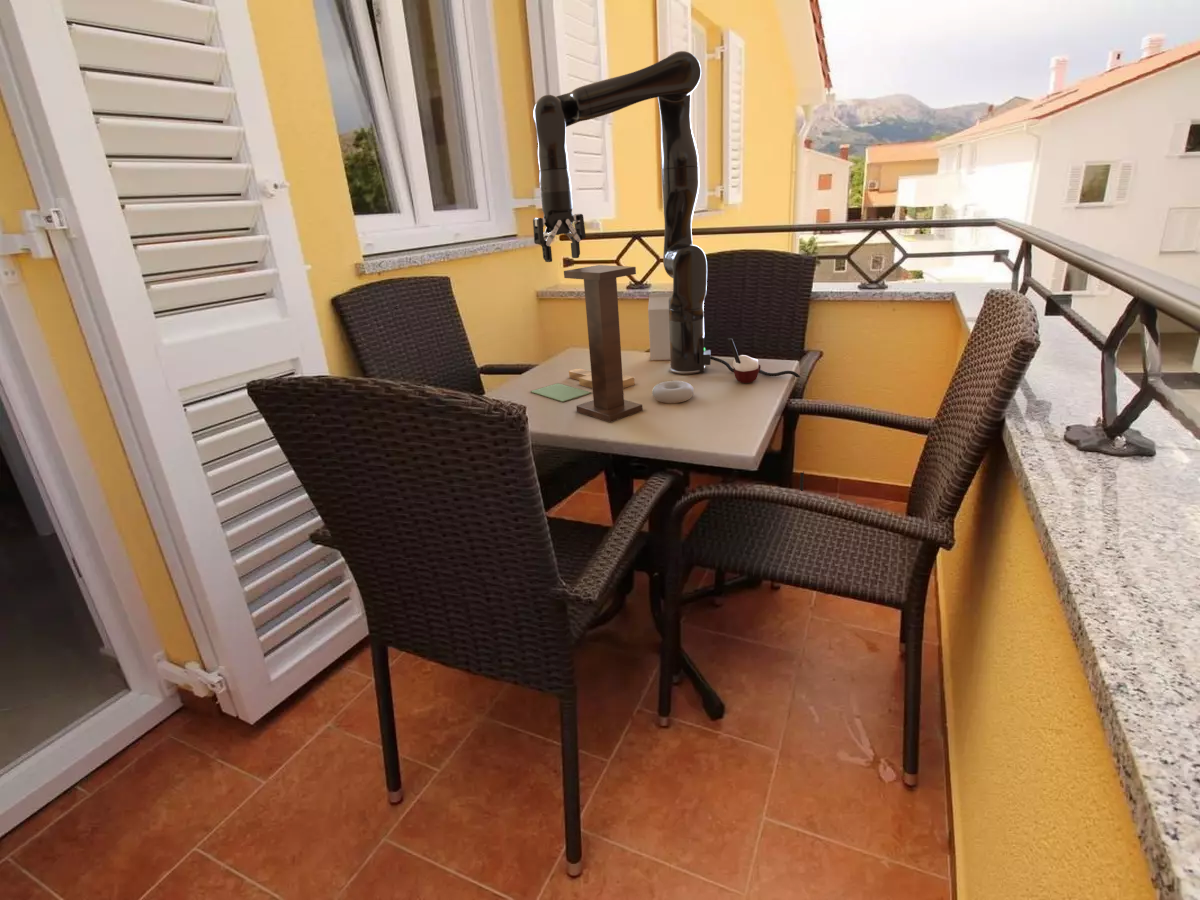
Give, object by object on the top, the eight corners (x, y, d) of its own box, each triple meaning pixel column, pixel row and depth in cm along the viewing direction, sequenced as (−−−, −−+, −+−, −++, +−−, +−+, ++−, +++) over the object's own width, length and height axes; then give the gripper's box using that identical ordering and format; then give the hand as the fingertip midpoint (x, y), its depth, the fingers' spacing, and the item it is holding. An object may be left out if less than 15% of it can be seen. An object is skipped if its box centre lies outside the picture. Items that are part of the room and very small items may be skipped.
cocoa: (758, 376, 162) (759, 330, 157) (766, 383, 156) (768, 335, 152) (722, 380, 161) (722, 334, 157) (729, 387, 156) (729, 339, 151)
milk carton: (674, 360, 184) (672, 294, 177) (650, 360, 185) (647, 295, 178) (676, 354, 190) (674, 290, 183) (653, 354, 192) (650, 291, 185)
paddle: (561, 380, 173) (560, 373, 172) (586, 372, 178) (586, 366, 177) (608, 393, 158) (608, 385, 158) (634, 384, 164) (634, 377, 163)
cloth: (530, 392, 164) (530, 391, 164) (558, 384, 169) (558, 383, 169) (562, 402, 154) (562, 401, 154) (591, 393, 159) (590, 392, 159)
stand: (576, 411, 146) (563, 270, 134) (608, 401, 152) (598, 265, 140) (610, 422, 138) (599, 273, 126) (643, 410, 144) (635, 266, 132)
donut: (689, 406, 145) (697, 392, 153) (689, 392, 143) (697, 378, 152) (647, 404, 148) (657, 391, 156) (646, 390, 146) (657, 378, 155)
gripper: (540, 191, 145) (548, 263, 151) (588, 187, 153) (593, 256, 159) (522, 193, 150) (530, 263, 156) (569, 189, 158) (575, 256, 164)
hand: (562, 259), depth 157 cm, fingers open, 8 cm apart
